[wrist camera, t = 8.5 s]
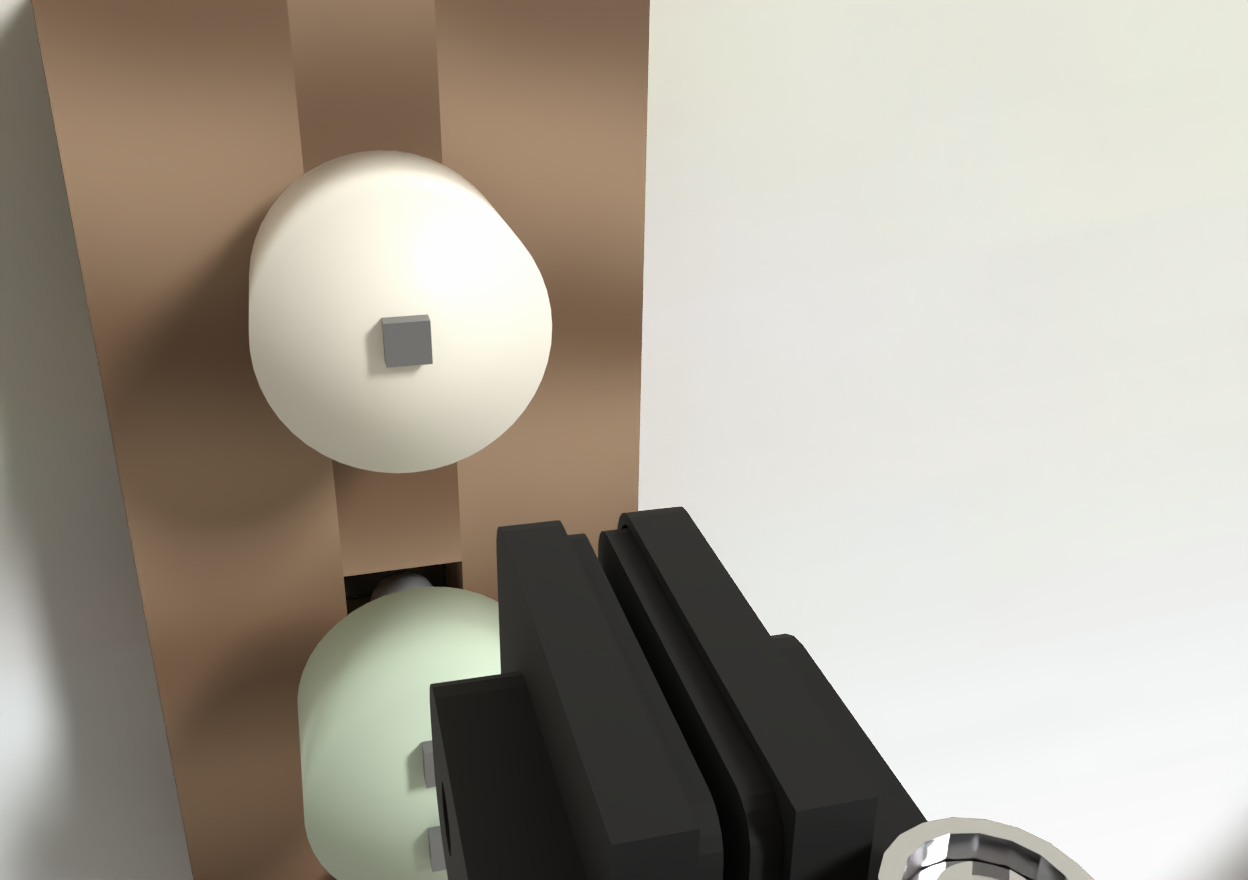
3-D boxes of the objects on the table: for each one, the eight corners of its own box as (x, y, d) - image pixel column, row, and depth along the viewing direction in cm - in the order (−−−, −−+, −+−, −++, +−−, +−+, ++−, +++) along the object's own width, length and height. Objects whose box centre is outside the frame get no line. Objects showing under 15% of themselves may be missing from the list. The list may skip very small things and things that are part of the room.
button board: (55, -36, 20) (26, -27, 18) (604, -33, 23) (650, -25, 20) (233, 983, 31) (231, 1084, 28) (596, 904, 33) (626, 990, 31)
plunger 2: (280, 519, 23) (290, 720, 17) (506, 492, 24) (584, 673, 19) (303, 705, 25) (318, 943, 19) (511, 673, 26) (584, 887, 21)
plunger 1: (235, 122, 22) (229, 200, 16) (478, 115, 23) (555, 185, 17) (262, 353, 24) (267, 496, 18) (486, 335, 25) (557, 464, 19)
